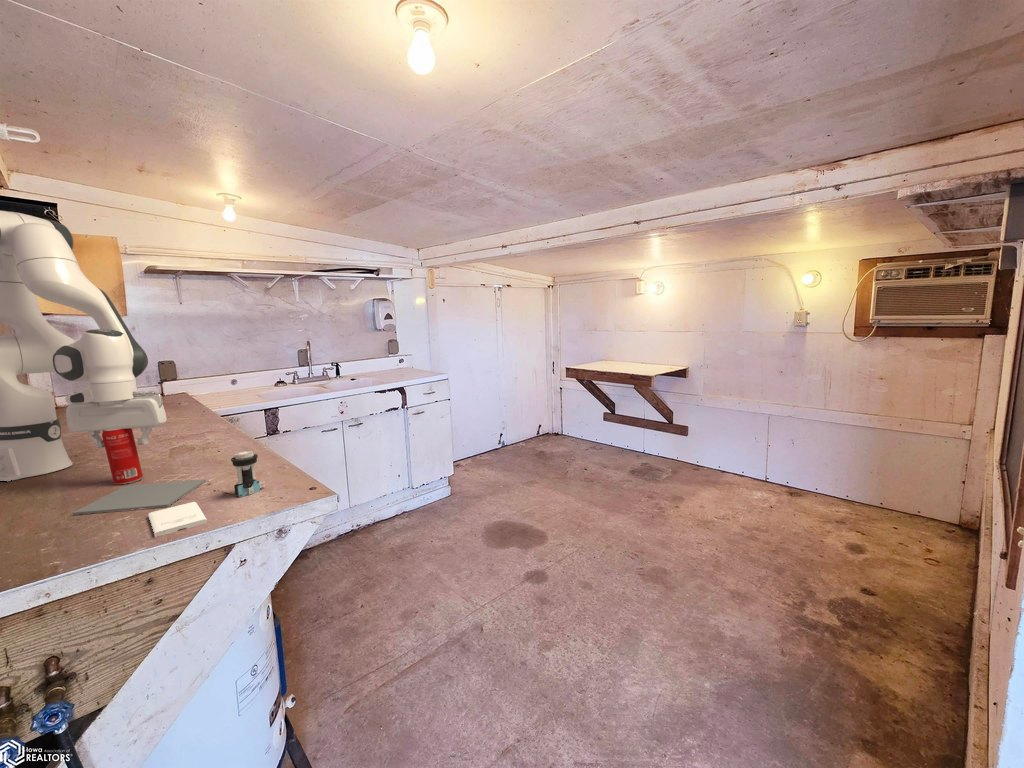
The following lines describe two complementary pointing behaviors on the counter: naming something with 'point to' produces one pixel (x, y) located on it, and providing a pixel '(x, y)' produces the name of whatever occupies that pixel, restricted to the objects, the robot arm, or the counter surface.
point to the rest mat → (141, 496)
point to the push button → (246, 473)
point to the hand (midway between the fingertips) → (122, 445)
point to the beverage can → (122, 455)
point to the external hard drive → (176, 518)
